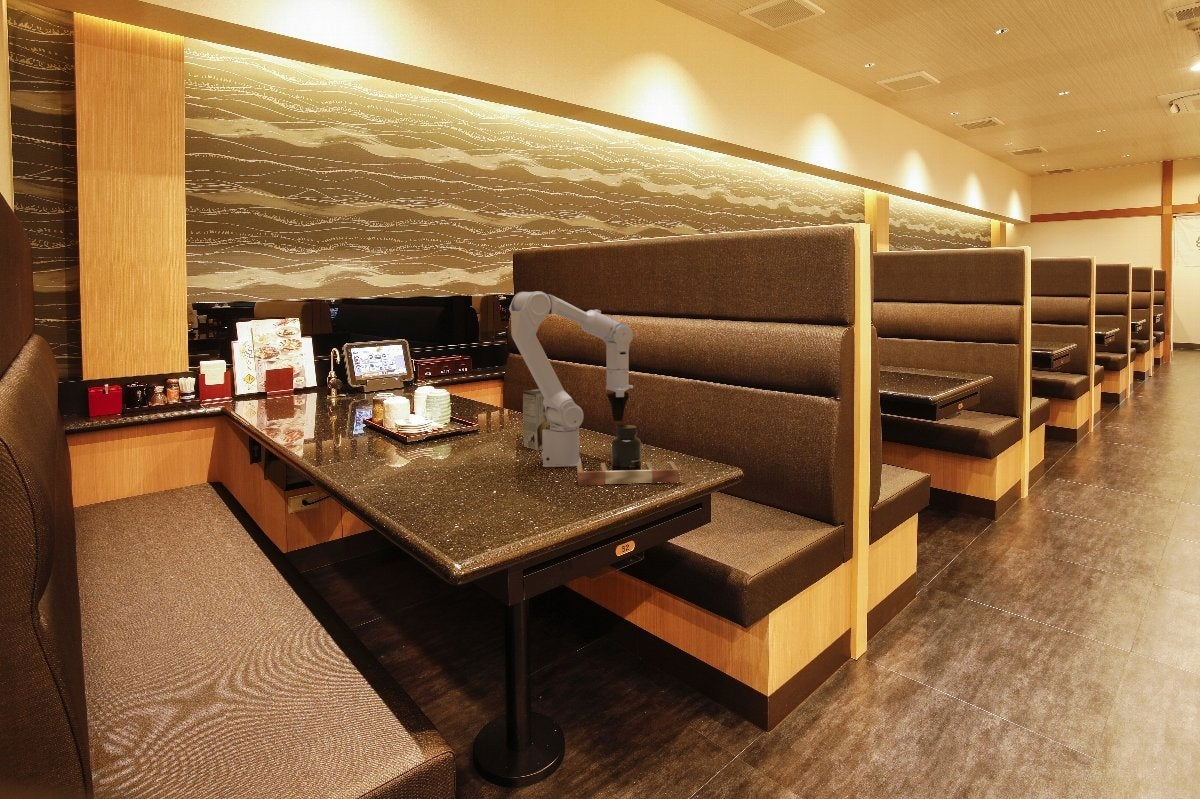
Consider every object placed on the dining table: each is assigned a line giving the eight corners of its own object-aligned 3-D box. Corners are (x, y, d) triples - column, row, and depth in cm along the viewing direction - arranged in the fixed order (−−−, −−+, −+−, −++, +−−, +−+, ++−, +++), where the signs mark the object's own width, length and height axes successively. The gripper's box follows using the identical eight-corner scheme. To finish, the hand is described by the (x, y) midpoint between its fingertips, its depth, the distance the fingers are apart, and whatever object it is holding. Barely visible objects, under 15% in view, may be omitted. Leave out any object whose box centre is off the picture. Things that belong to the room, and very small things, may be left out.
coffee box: (547, 442, 199) (546, 387, 197) (562, 446, 195) (561, 389, 192) (522, 448, 193) (521, 390, 190) (537, 451, 188) (536, 392, 186)
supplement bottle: (639, 481, 156) (639, 429, 155) (609, 480, 158) (609, 428, 156) (642, 474, 163) (642, 424, 161) (614, 473, 164) (613, 423, 163)
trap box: (578, 485, 154) (578, 472, 153) (577, 475, 162) (577, 463, 162) (678, 483, 155) (678, 470, 155) (672, 473, 163) (672, 461, 163)
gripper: (636, 371, 172) (636, 425, 174) (630, 365, 186) (630, 415, 188) (607, 372, 171) (608, 426, 173) (603, 366, 186) (604, 416, 188)
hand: (617, 420), depth 181 cm, fingers closed
